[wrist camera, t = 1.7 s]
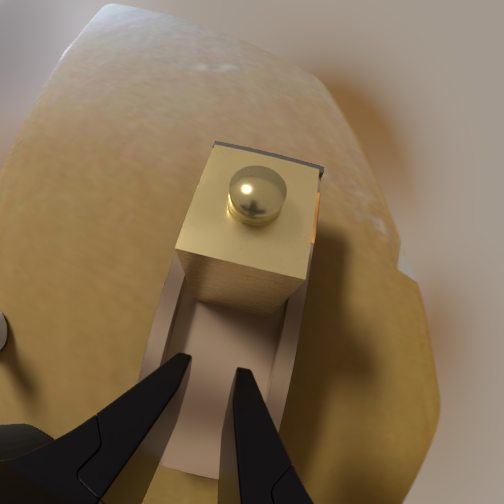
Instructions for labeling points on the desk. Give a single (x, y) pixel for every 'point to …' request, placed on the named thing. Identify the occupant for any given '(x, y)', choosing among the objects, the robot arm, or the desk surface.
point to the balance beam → (222, 356)
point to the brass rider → (248, 230)
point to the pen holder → (20, 440)
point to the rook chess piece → (2, 330)
